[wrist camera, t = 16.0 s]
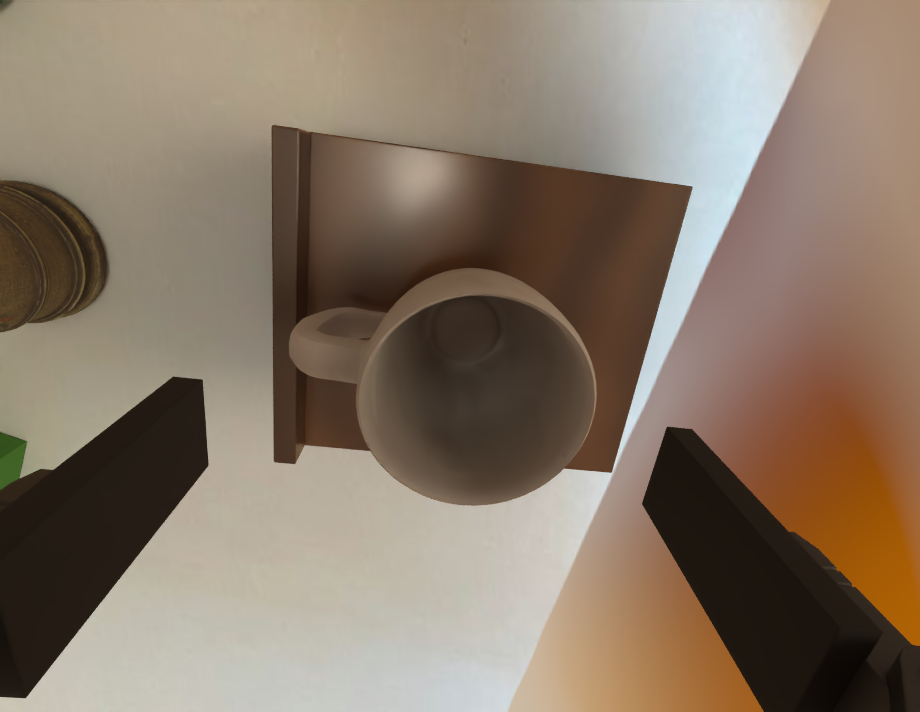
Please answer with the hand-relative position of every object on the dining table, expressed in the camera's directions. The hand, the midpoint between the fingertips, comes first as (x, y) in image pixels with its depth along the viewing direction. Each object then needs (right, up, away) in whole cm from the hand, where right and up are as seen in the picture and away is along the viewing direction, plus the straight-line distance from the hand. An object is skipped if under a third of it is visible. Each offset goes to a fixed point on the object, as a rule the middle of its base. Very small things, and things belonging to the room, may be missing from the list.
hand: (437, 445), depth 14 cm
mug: (-1, +4, +13) cm, 13 cm away
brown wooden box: (+1, +7, +21) cm, 22 cm away
